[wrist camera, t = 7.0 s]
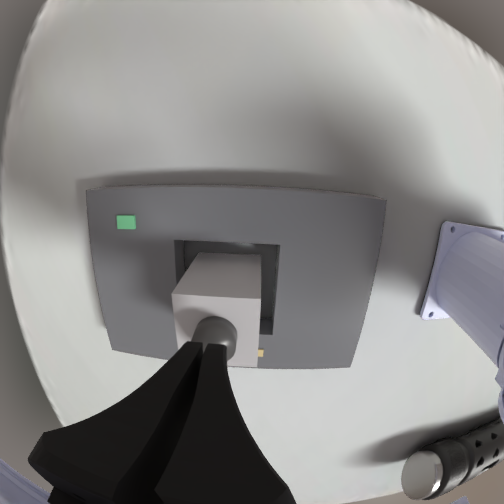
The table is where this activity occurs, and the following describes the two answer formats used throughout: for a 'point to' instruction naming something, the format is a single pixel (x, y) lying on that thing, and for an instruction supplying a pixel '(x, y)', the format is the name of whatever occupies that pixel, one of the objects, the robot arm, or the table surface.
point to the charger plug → (221, 305)
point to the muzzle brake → (452, 461)
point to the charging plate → (238, 231)
